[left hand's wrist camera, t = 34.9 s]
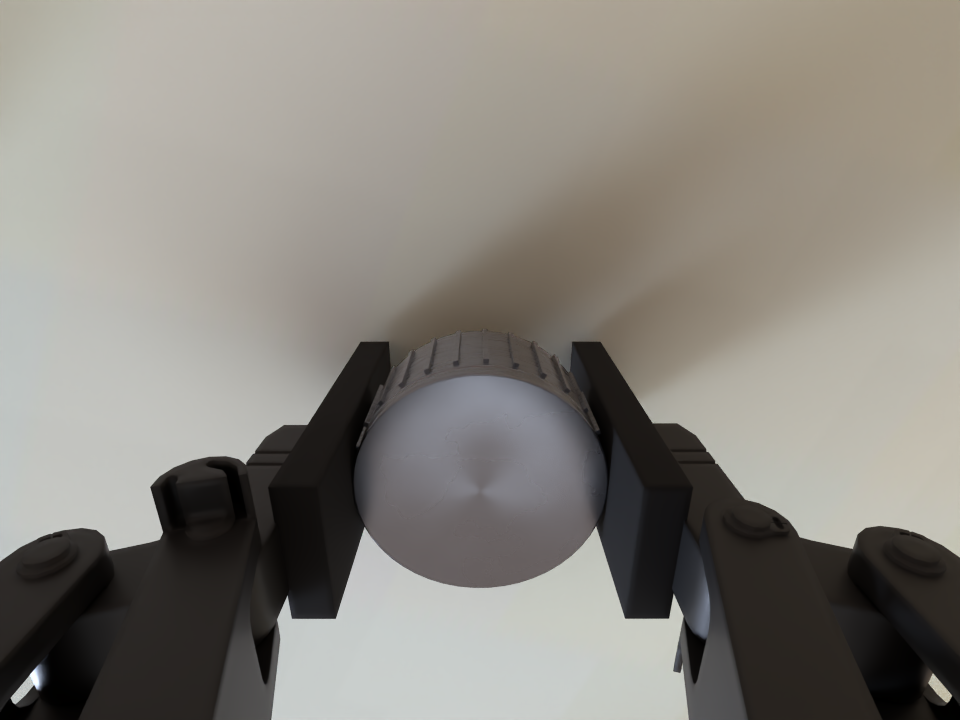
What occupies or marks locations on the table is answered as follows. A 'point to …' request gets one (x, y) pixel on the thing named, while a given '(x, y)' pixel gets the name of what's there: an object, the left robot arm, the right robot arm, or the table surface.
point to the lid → (480, 462)
